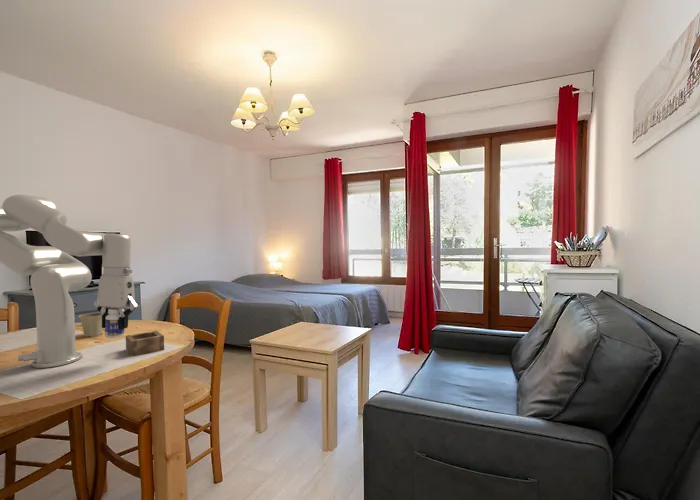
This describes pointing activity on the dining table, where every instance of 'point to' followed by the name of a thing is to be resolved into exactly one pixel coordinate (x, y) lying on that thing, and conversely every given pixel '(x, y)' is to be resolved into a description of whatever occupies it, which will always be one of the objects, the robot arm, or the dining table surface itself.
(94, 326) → the flower pot
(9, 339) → the dining table surface
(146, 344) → the well
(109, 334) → the pill bottle
